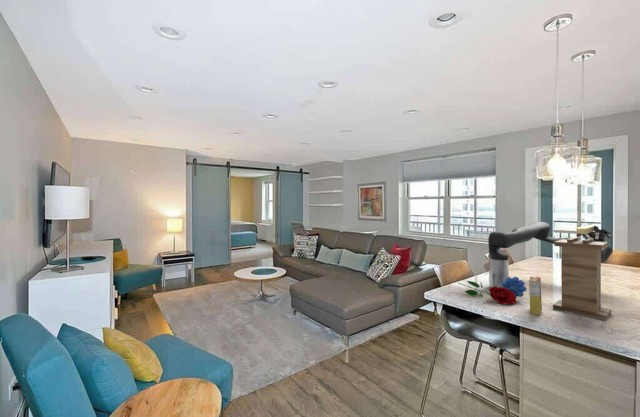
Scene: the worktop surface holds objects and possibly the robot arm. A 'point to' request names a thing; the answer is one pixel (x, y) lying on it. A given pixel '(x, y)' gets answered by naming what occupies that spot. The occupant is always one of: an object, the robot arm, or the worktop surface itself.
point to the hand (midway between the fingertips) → (590, 227)
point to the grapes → (514, 286)
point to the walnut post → (581, 278)
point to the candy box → (535, 295)
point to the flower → (495, 293)
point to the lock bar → (585, 229)
